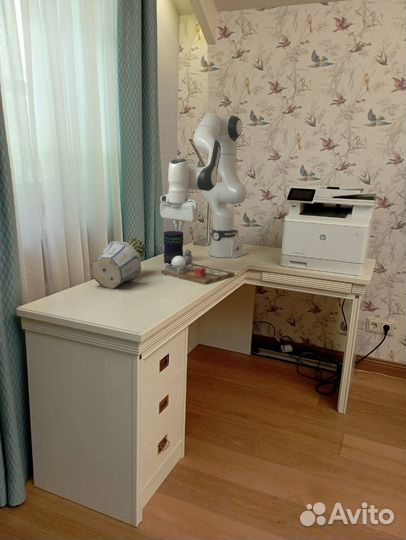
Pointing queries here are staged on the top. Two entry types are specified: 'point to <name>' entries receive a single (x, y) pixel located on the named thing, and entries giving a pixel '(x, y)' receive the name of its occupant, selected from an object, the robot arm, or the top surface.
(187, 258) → the pawn
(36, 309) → the top surface
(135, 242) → the potted plant
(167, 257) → the storage jar
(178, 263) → the white ball
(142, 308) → the top surface
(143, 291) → the top surface
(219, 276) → the board
